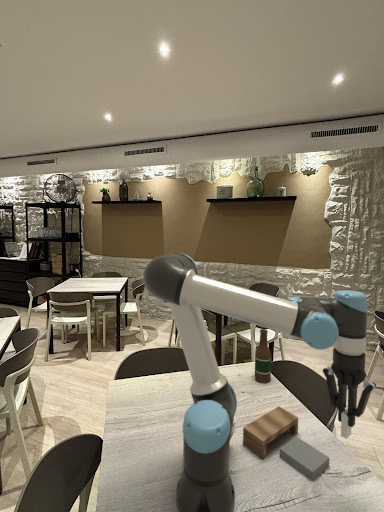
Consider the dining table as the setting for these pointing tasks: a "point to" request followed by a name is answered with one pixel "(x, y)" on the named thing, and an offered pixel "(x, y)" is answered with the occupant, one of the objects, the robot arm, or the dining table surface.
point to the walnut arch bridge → (268, 429)
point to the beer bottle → (263, 359)
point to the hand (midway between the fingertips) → (345, 435)
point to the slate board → (304, 458)
